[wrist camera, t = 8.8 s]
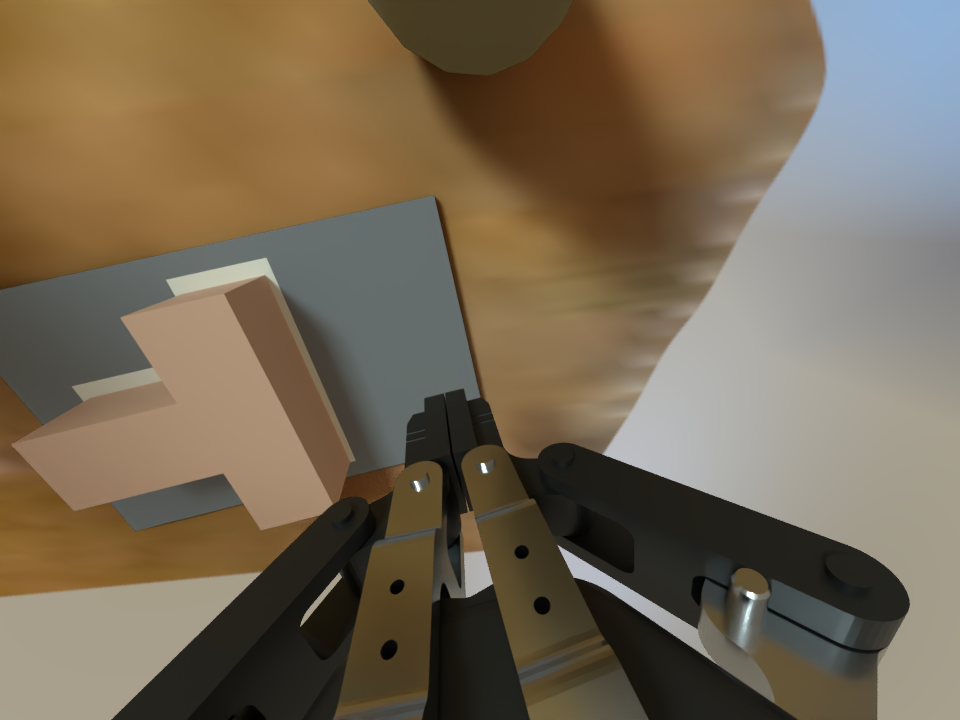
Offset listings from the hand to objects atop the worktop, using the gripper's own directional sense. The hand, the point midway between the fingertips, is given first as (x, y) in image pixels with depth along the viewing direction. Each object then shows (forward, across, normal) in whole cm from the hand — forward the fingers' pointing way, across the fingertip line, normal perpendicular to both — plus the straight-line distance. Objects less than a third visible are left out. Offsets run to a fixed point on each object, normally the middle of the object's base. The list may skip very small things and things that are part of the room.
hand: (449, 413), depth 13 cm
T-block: (+8, +13, +1) cm, 15 cm away
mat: (+8, +10, 0) cm, 13 cm away
